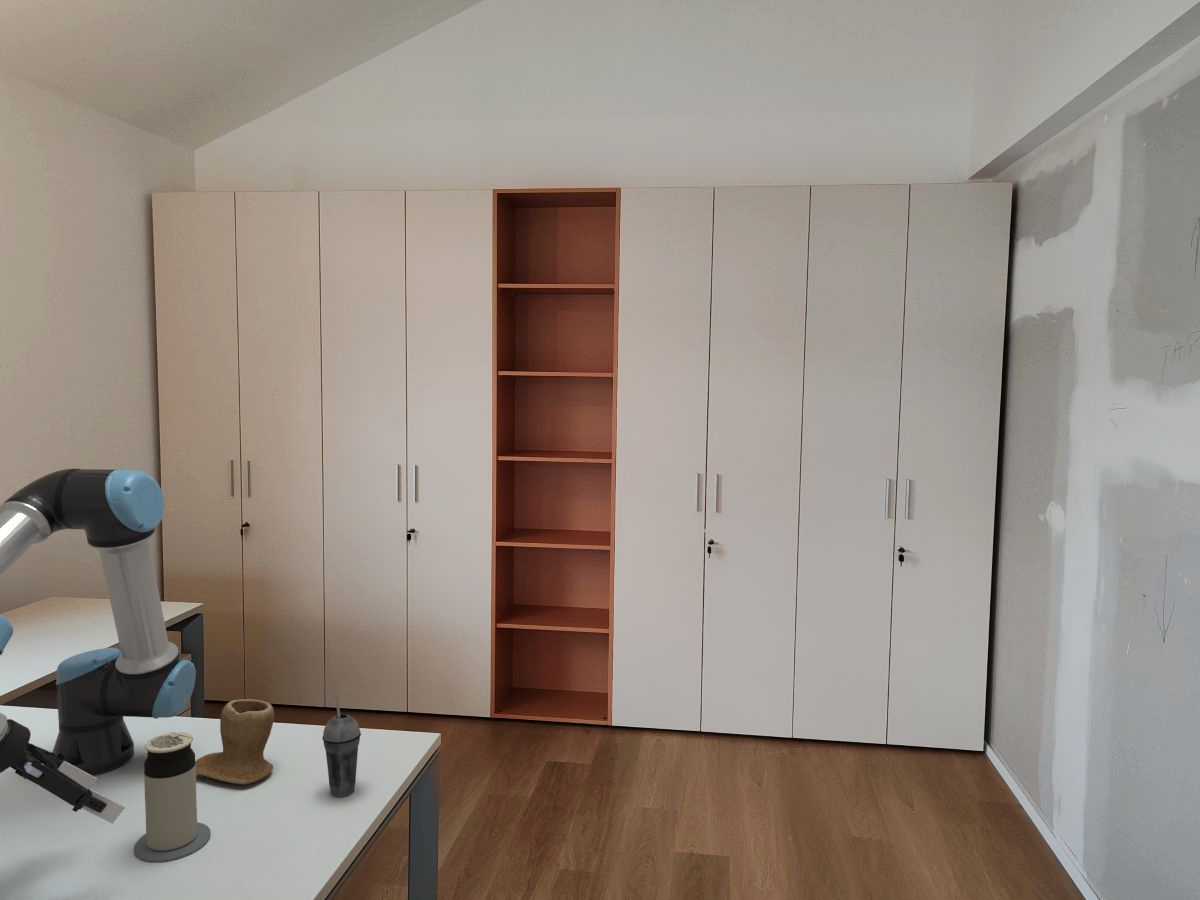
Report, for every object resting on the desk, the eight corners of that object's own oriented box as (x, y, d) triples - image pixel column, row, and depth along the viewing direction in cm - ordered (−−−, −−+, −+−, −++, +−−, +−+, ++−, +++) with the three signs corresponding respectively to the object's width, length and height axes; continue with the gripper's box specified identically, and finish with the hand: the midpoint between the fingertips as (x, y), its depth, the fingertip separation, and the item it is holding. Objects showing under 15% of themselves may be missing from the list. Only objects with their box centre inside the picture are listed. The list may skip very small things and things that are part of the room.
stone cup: (288, 768, 175) (286, 698, 173) (244, 794, 164) (242, 720, 162) (233, 754, 180) (231, 687, 179) (187, 779, 169) (185, 707, 168)
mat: (123, 842, 146) (123, 840, 146) (194, 816, 155) (194, 814, 155) (148, 871, 138) (148, 868, 138) (222, 842, 147) (221, 839, 147)
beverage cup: (369, 787, 167) (368, 690, 165) (344, 804, 160) (342, 703, 159) (341, 779, 170) (339, 684, 168) (315, 795, 163) (313, 697, 162)
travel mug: (163, 857, 141) (159, 755, 140) (137, 843, 145) (133, 743, 144) (207, 836, 148) (204, 738, 146) (181, 822, 152) (177, 727, 151)
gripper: (-50, 737, 132) (63, 794, 145) (-12, 792, 116) (112, 851, 128) (-11, 696, 136) (96, 755, 148) (31, 743, 119) (148, 805, 131)
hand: (104, 800), depth 138 cm, fingers open, 13 cm apart
